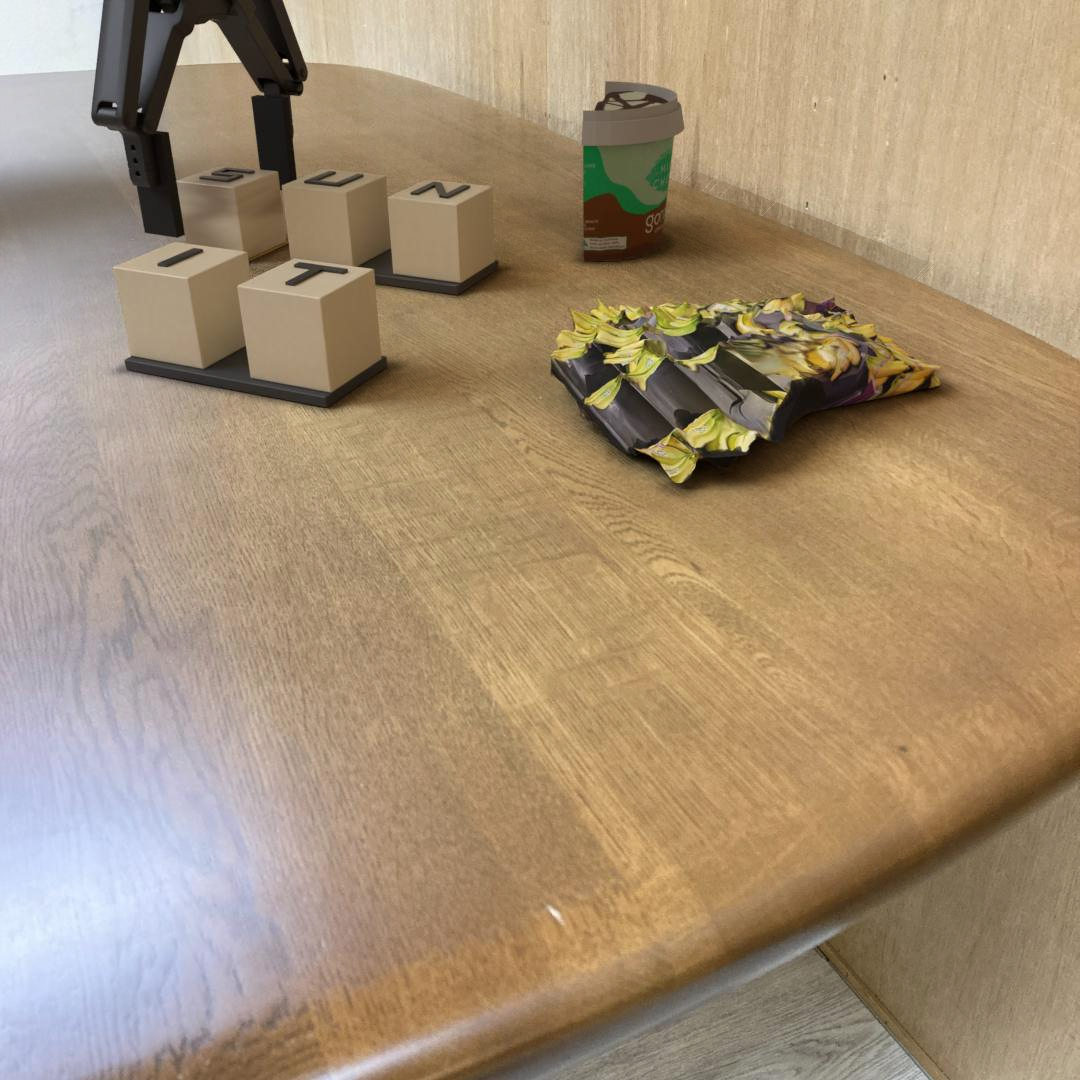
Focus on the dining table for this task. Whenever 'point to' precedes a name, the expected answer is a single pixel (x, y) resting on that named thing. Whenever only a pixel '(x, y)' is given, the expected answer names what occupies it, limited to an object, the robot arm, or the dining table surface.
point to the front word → (250, 322)
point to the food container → (627, 169)
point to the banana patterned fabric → (723, 373)
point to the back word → (393, 228)
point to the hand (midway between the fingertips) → (226, 210)
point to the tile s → (233, 209)
